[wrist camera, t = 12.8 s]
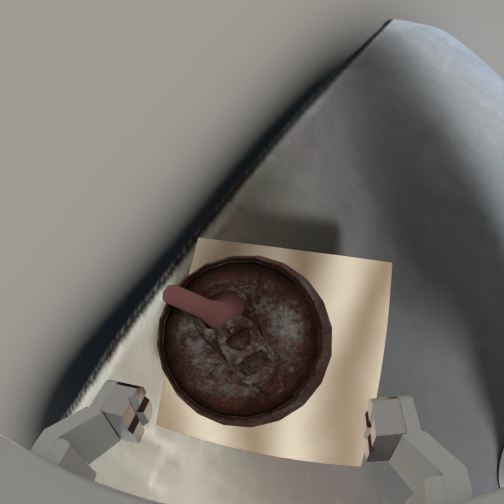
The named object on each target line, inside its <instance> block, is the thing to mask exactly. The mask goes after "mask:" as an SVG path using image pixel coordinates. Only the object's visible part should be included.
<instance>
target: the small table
mask: <svg viewBox="0 0 504 504" xmlns="http://www.w3.org/2000/svg"><path fill="white" fill-rule="evenodd" d="M231 256H263V257H266V258H269V259H272V260H275V261H279V262H282V263H285V264H286V265H288V266H289V267H291V268H292V269H294V270H295V271H296V272H298V273H299V274H301V275H302V276H304V277H305V278H306V279H307V280H308V281H309V282H310V284H311V285H312V286H313V288H314V289H315V290H316V292H317V293H318V294H319V296H320V297H321V298H322V300H323V301H324V304H325V307H326V310H327V313H328V316H329V319H330V323H331V326H332V356H331V359H330V362H329V365H328V367H327V370H326V373H325V376H324V378H323V381H322V383H321V385H320V386H319V387H318V388H317V390H316V391H315V392H314V393H313V395H312V396H311V397H310V398H309V399H308V401H307V402H306V403H305V404H304V405H303V406H302V407H300V408H299V409H297V410H296V411H294V412H293V413H291V414H289V415H288V416H286V417H285V418H283V419H281V420H280V421H276V422H272V423H268V424H264V425H260V426H256V427H239V426H229V425H222V424H220V423H217V422H215V421H213V420H210V419H208V418H206V417H204V416H201V415H199V414H197V413H196V412H195V411H194V410H193V409H192V408H191V407H189V406H188V405H187V404H186V403H185V402H184V401H183V400H182V399H181V398H179V397H178V396H177V394H176V392H175V391H174V389H173V387H172V385H171V384H170V382H169V380H168V379H167V377H166V376H165V381H164V386H163V391H162V396H161V401H160V406H159V411H158V417H157V422H156V425H158V426H161V427H164V428H167V429H170V430H173V431H176V432H179V433H182V434H185V435H189V436H192V437H195V438H199V439H202V440H206V441H210V442H213V443H217V444H221V445H225V446H229V447H233V448H237V449H242V450H246V451H251V452H256V453H261V454H266V455H271V456H277V457H283V458H289V459H295V460H302V461H310V462H318V463H326V464H336V465H348V466H361V463H362V460H363V456H364V452H365V444H366V441H367V440H366V439H365V438H364V435H363V422H364V416H365V413H366V412H367V411H368V407H367V405H368V401H369V399H374V398H376V397H377V392H378V386H379V380H380V374H381V368H382V361H383V354H384V347H385V339H386V331H387V322H388V312H389V301H390V289H391V274H392V262H384V261H377V260H369V259H362V258H354V257H347V256H339V255H332V254H324V253H316V252H309V251H301V250H293V249H286V248H278V247H270V246H262V245H254V244H247V243H239V242H231V241H223V240H215V239H207V238H199V237H198V241H197V245H196V248H195V252H194V256H193V260H192V264H191V268H190V272H189V275H190V274H191V273H192V272H194V271H195V270H197V269H198V268H200V267H201V266H203V265H204V264H207V263H210V262H213V261H216V260H220V259H223V258H226V257H231Z"/></svg>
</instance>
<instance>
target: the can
mask: <svg viewBox="0 0 504 504" xmlns="http://www.w3.org/2000/svg"><path fill="white" fill-rule="evenodd" d="M163 300H164V301H165V302H166V305H165V308H164V310H163V313H162V315H161V317H160V320H159V330H158V341H157V346H158V351H159V356H160V360H161V365H162V369H163V371H164V373H165V375H166V377H167V379H168V380H169V382H170V384H171V385H172V387H173V389H174V391H175V392H176V394H177V396H178V397H179V398H181V399H182V400H183V401H184V402H185V403H186V404H187V405H188V406H189V407H191V408H192V409H193V410H194V411H195V412H196V413H197V414H199V415H201V416H204V417H206V418H208V419H210V420H213V421H215V422H217V423H220V424H222V425H229V426H239V427H256V426H260V425H264V424H268V423H272V422H276V421H280V420H281V419H283V418H285V417H286V416H288V415H289V414H291V413H293V412H294V411H296V410H297V409H299V408H300V407H302V406H303V405H304V404H305V403H306V402H307V401H308V399H309V398H310V397H311V396H312V395H313V393H314V392H315V391H316V390H317V388H318V387H319V386H320V385H321V383H322V381H323V378H324V376H325V373H326V370H327V367H328V365H329V362H330V359H331V356H332V326H331V323H330V319H329V316H328V313H327V310H326V307H325V304H324V301H323V300H322V298H321V297H320V296H319V294H318V293H317V292H316V290H315V289H314V288H313V286H312V285H311V284H310V282H309V281H308V280H307V279H306V278H305V277H304V276H302V275H301V274H299V273H298V272H296V271H295V270H294V269H292V268H291V267H289V266H288V265H286V264H285V263H282V262H279V261H275V260H272V259H269V258H266V257H263V256H231V257H226V258H223V259H220V260H216V261H213V262H210V263H207V264H204V265H203V266H201V267H200V268H198V269H197V270H195V271H194V272H192V273H191V274H190V275H188V276H187V277H185V278H184V279H183V280H182V282H181V283H180V284H179V285H178V286H177V285H169V286H167V287H166V289H165V290H164V292H163Z"/></svg>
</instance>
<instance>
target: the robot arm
mask: <svg viewBox="0 0 504 504" xmlns="http://www.w3.org/2000/svg"><path fill="white" fill-rule="evenodd" d="M145 394H146V391H145V389H144V387H141V386H136V385H131V384H127V383H122V382H118V381H113V380H108V381H106V382H105V383H104V385H103V386H102V388H101V390H100V391H99V393H98V394H97V396H96V397H95V399H94V400H93V402H92V404H91V405H90V407H89V408H88V407H85V408H83V409H82V410H80V411H78V412H76V413H74V414H72V415H71V416H69V417H67V418H65V419H63V420H61V421H60V422H58V423H56V424H54V425H52V426H50V427H48V428H46V429H45V430H43V432H42V433H41V435H40V436H39V438H38V439H37V441H36V443H35V444H34V446H33V447H32V449H31V450H30V451H29V450H27V449H25V448H23V447H21V446H19V445H18V444H16V443H14V442H12V441H11V440H9V439H8V438H6V437H4V436H3V435H1V434H0V504H164V503H160V502H157V501H153V500H149V499H146V498H142V497H139V496H136V495H132V494H129V493H126V492H123V491H120V490H117V489H114V488H111V487H109V486H106V485H103V484H100V483H98V482H95V481H94V479H95V477H96V472H95V471H94V470H93V469H92V468H91V467H90V465H89V464H90V463H91V462H93V461H94V460H95V459H97V458H98V457H99V456H101V455H102V454H103V453H105V452H106V451H107V450H108V449H110V448H111V447H112V446H114V445H115V444H116V443H118V442H119V441H120V439H122V440H126V441H130V442H135V443H139V442H140V440H141V438H142V436H143V433H144V431H145V430H144V427H143V426H144V425H145V424H147V423H148V422H149V420H150V418H151V414H152V405H151V402H150V400H149V399H147V398H146V397H145ZM367 407H368V411H367V412H366V413H365V416H364V422H363V435H364V438H365V439H366V440H367V441H366V444H365V459H366V462H379V461H389V463H390V464H391V465H392V467H393V468H394V469H395V470H396V472H397V473H398V474H399V475H400V477H401V478H402V479H403V480H404V482H405V483H406V484H407V485H408V486H409V488H410V489H411V490H412V491H413V494H412V496H411V497H410V498H409V499H408V500H407V501H406V503H405V504H504V449H503V453H502V456H501V461H500V466H499V484H500V488H499V489H496V490H494V491H491V492H488V493H485V494H482V495H479V496H476V497H473V495H472V490H471V486H470V481H469V477H468V473H467V469H466V467H465V466H464V465H463V464H462V463H461V462H460V461H458V460H457V459H456V458H455V457H454V456H453V455H452V454H451V453H449V452H448V451H447V450H446V449H445V448H444V447H443V446H441V445H440V444H439V443H438V442H437V441H436V440H435V439H434V438H432V437H431V436H430V435H429V434H428V433H427V432H426V431H421V428H420V424H419V420H418V416H417V412H416V408H415V404H414V400H413V397H412V396H411V395H408V396H398V397H397V396H395V397H385V398H374V399H369V401H368V405H367Z"/></svg>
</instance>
